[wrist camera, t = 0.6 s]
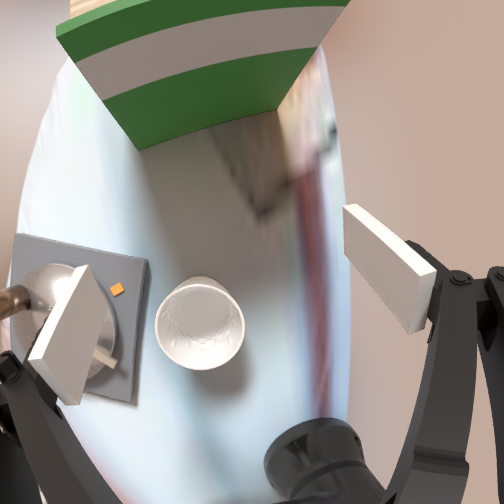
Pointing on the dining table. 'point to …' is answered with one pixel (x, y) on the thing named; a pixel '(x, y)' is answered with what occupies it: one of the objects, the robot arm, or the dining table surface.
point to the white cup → (199, 324)
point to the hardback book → (192, 58)
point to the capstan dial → (41, 304)
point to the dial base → (116, 286)
